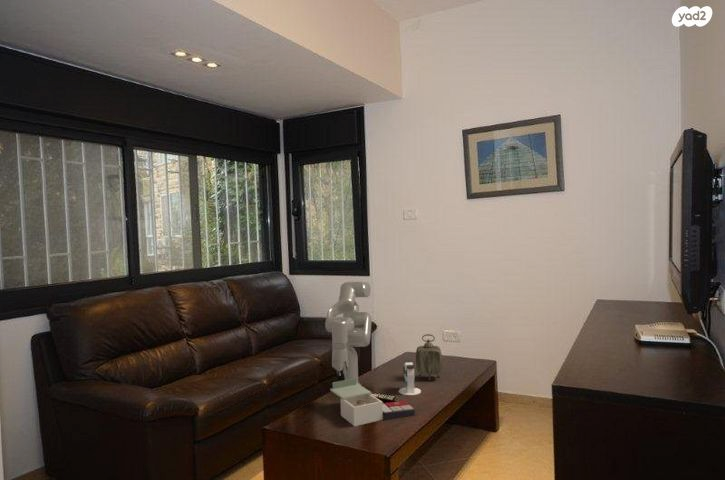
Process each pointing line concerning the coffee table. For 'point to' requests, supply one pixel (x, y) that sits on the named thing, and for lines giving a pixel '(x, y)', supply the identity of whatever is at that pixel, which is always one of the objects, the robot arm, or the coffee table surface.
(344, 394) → the lid
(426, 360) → the tabletop clock
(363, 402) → the tan cylinder
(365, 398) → the box
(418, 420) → the coffee table surface
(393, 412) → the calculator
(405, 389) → the white pedestal stand
